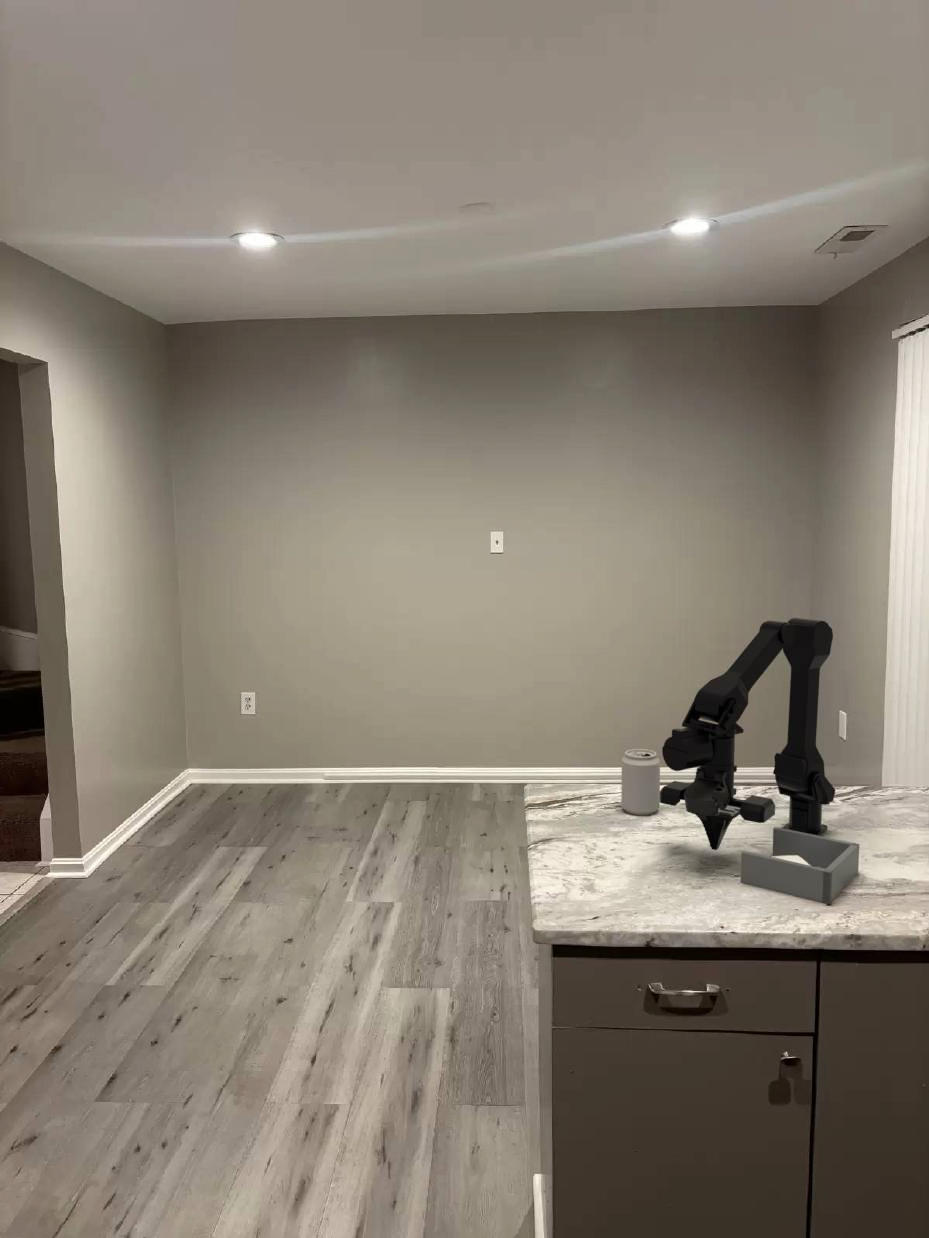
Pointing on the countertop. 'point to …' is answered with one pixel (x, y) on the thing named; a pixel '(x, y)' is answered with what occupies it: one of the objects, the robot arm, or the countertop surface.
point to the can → (640, 782)
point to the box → (803, 865)
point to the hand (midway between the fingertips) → (715, 849)
